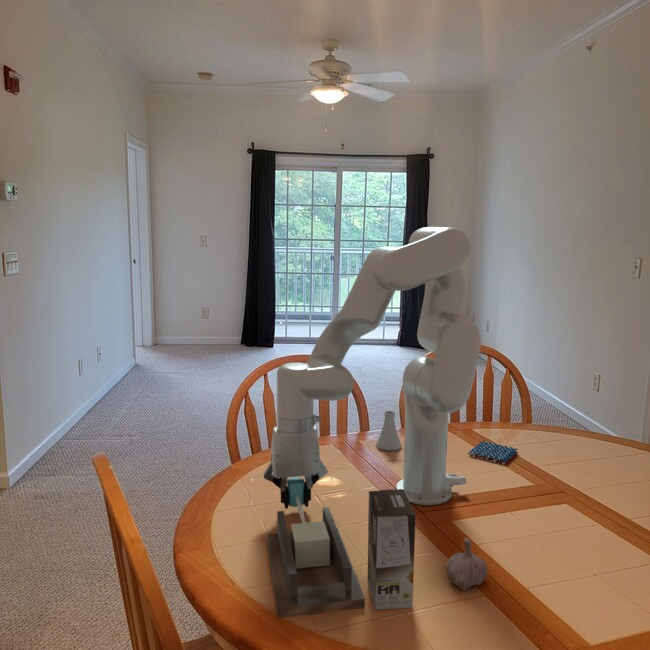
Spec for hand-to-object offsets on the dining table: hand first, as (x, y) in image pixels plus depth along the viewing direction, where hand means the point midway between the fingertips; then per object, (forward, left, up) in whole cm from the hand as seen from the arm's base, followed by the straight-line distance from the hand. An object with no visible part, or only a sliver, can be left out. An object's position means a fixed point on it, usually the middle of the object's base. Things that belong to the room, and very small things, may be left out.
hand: (295, 503), depth 120 cm
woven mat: (-56, -22, -3) cm, 60 cm away
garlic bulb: (-26, +28, -2) cm, 39 cm away
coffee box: (-12, +29, -2) cm, 32 cm away
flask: (-30, -32, -2) cm, 44 cm away
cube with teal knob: (0, +11, 0) cm, 11 cm away
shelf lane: (0, +21, -2) cm, 21 cm away
